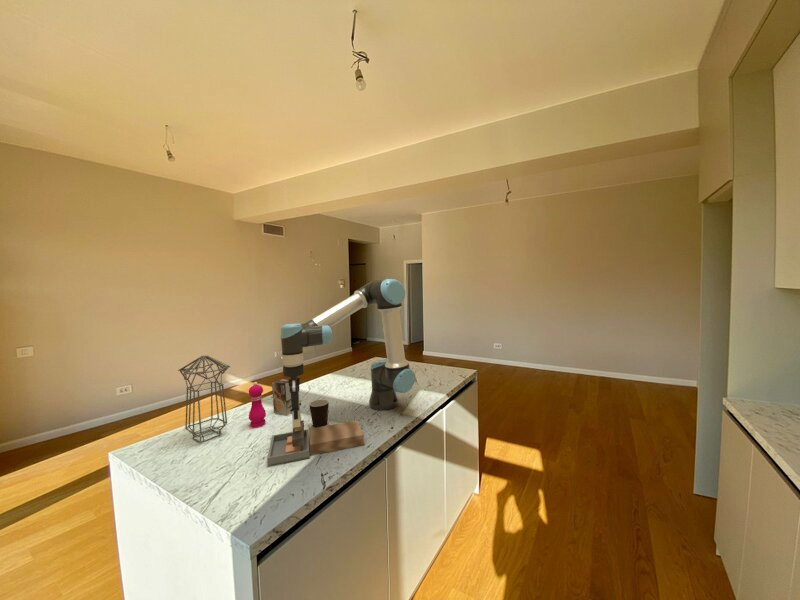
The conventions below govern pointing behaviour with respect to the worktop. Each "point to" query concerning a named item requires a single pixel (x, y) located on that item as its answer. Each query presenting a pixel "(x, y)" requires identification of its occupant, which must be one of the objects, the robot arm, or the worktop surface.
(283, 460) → the tray
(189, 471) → the worktop surface
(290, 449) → the tile
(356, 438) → the brown flat wooden block
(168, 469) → the worktop surface
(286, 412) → the coffee box
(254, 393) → the pepper mill
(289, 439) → the tile
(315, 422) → the coffee mug
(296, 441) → the scraper
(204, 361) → the geometric lantern
